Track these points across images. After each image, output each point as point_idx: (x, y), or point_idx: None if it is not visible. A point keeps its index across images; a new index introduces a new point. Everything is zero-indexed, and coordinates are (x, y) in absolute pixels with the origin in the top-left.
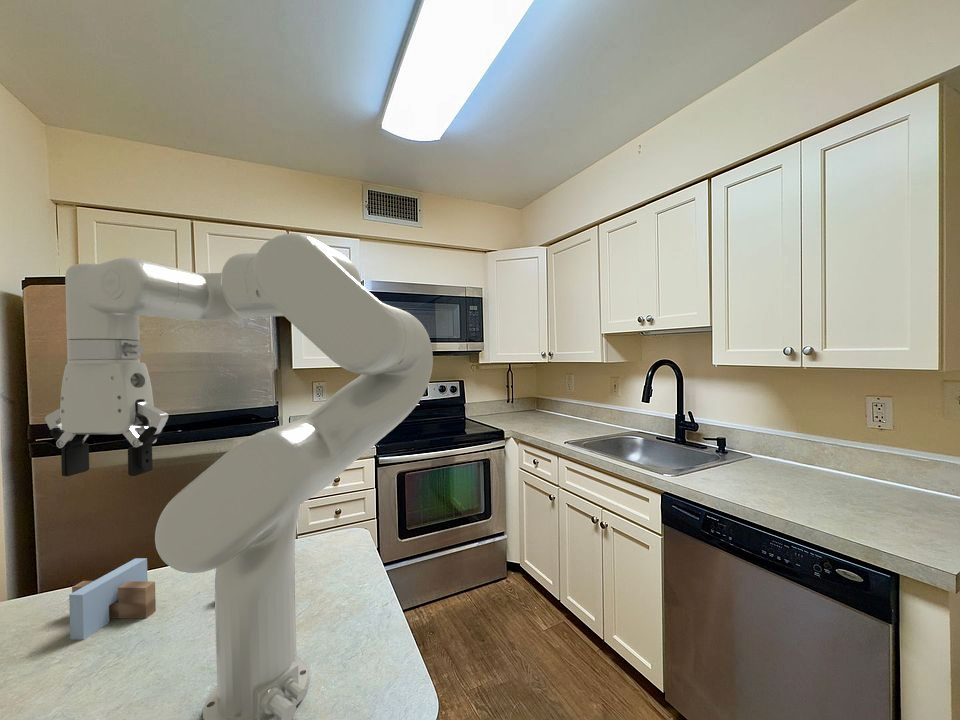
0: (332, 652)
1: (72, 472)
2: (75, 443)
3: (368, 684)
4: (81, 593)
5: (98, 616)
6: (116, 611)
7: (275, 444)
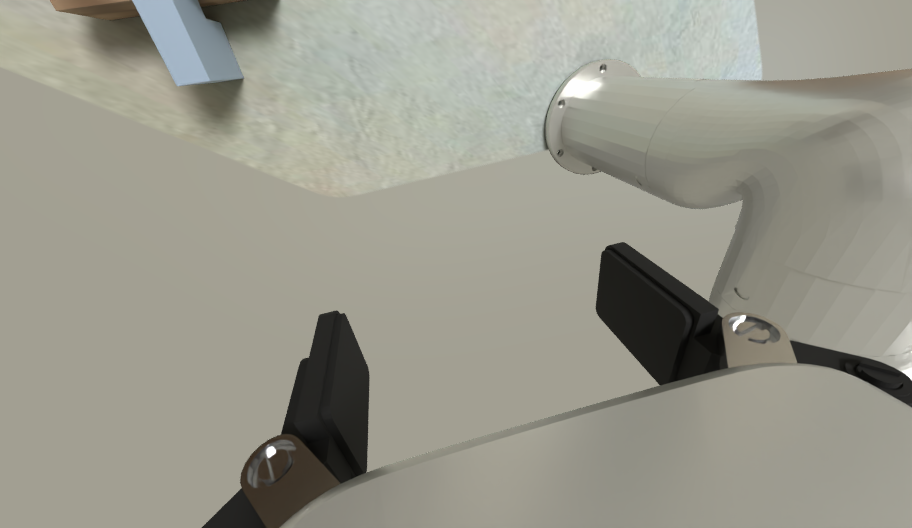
0: (654, 28)
1: (365, 365)
2: (340, 474)
3: (704, 77)
4: (199, 77)
5: (221, 46)
6: (208, 2)
7: None
